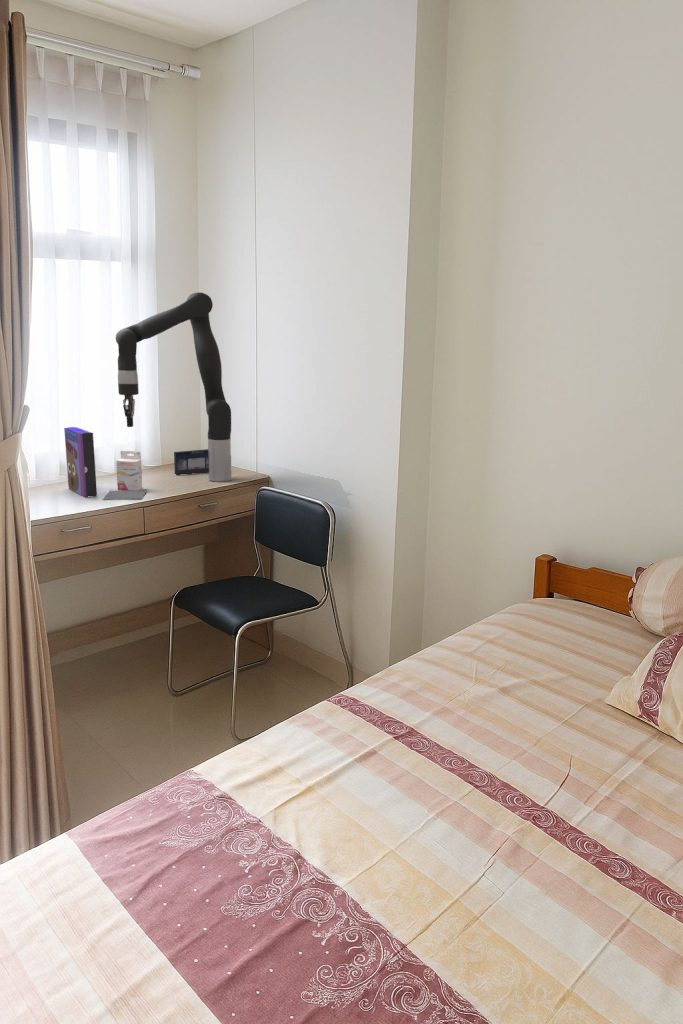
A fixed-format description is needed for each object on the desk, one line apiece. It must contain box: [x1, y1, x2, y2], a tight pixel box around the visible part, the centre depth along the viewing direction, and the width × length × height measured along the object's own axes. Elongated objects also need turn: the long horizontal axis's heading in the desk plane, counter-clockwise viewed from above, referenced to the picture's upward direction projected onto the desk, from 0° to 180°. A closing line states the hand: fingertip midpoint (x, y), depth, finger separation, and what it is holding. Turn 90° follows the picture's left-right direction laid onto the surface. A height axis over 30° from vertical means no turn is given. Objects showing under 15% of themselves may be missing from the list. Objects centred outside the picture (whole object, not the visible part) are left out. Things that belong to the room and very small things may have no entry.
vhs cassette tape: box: [173, 448, 209, 476], centre depth 335 cm, size 18×3×10 cm, turn 119°
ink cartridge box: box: [115, 450, 143, 490], centre depth 302 cm, size 9×5×15 cm, turn 84°
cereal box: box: [63, 426, 98, 498], centre depth 294 cm, size 17×5×24 cm, turn 37°
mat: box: [102, 489, 148, 500], centre depth 293 cm, size 14×14×1 cm
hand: (130, 426), depth 305 cm, fingers closed
